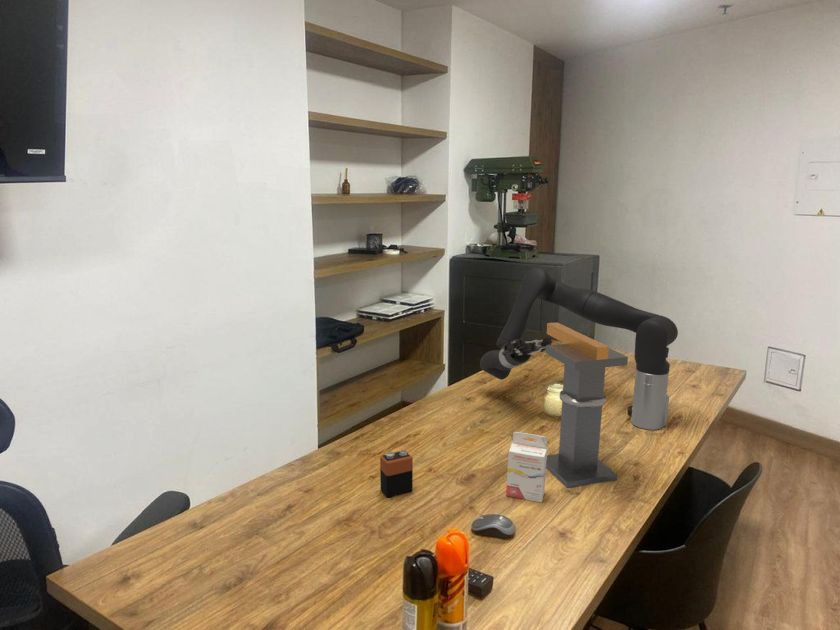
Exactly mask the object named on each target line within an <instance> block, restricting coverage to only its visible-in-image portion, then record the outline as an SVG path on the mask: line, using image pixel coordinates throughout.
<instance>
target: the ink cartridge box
mask: <svg viewBox="0 0 840 630" xmlns="http://www.w3.org/2000/svg"><path fill="white" fill-rule="evenodd" d="M529 438H531V439H532V440H527V439H529ZM533 440H534V441H533ZM547 443H548V437H547V436H544V435H538V434H534V433H533V434H532V433H526V432H520V431H519V432H518V431H513V432H512V442H511V445H510V448H509V449H508V457H507V473H506V492H505V495H506V496H507V497H511V498H517V499H522V500H527V501H532V502H537V503H542V502H543V497H544V494H545V488H546V475H547V473H546V472H547V468H546V461H547V455H548V448H547V447H548V444H547Z"/></svg>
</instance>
